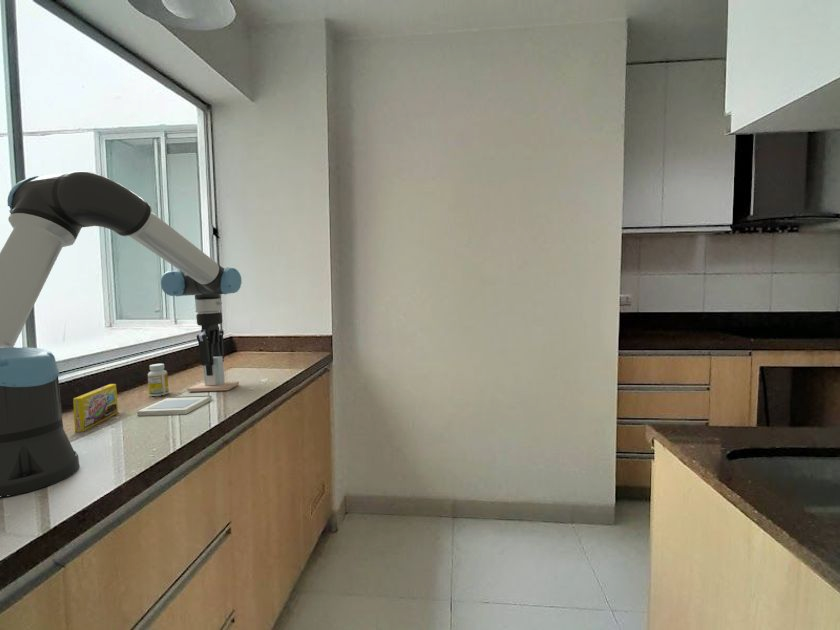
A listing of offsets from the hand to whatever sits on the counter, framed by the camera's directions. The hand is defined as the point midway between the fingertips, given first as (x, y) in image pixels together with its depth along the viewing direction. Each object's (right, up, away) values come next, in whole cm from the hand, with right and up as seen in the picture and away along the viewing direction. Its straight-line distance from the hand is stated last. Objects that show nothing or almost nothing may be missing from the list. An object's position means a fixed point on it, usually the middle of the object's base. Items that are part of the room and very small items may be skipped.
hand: (214, 383), depth 146 cm
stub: (0, -1, -1) cm, 2 cm away
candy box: (-15, -5, -32) cm, 36 cm away
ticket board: (-1, -3, -22) cm, 22 cm away
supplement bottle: (-15, -3, -5) cm, 16 cm away
